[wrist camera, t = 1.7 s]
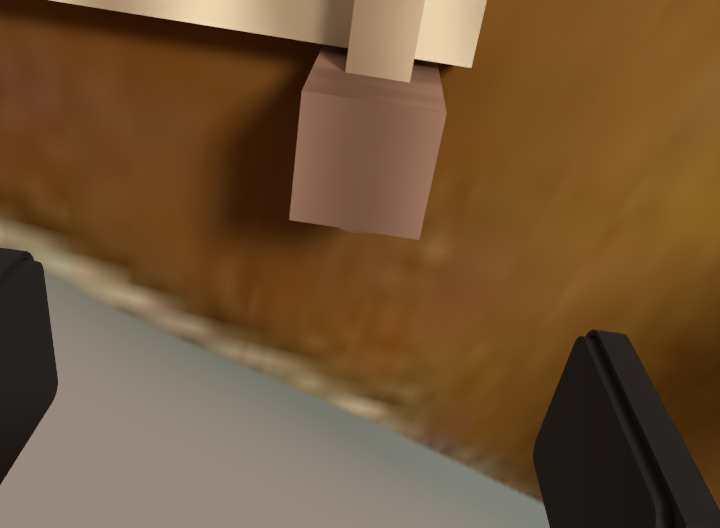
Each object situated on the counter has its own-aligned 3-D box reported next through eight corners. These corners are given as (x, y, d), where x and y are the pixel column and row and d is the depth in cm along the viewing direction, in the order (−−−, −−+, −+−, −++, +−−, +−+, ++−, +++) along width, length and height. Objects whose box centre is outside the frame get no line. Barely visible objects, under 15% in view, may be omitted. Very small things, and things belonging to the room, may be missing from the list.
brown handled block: (498, -246, 18) (535, -292, 13) (412, 183, 25) (414, 262, 20) (358, -270, 18) (341, -325, 13) (310, 167, 25) (287, 242, 20)
